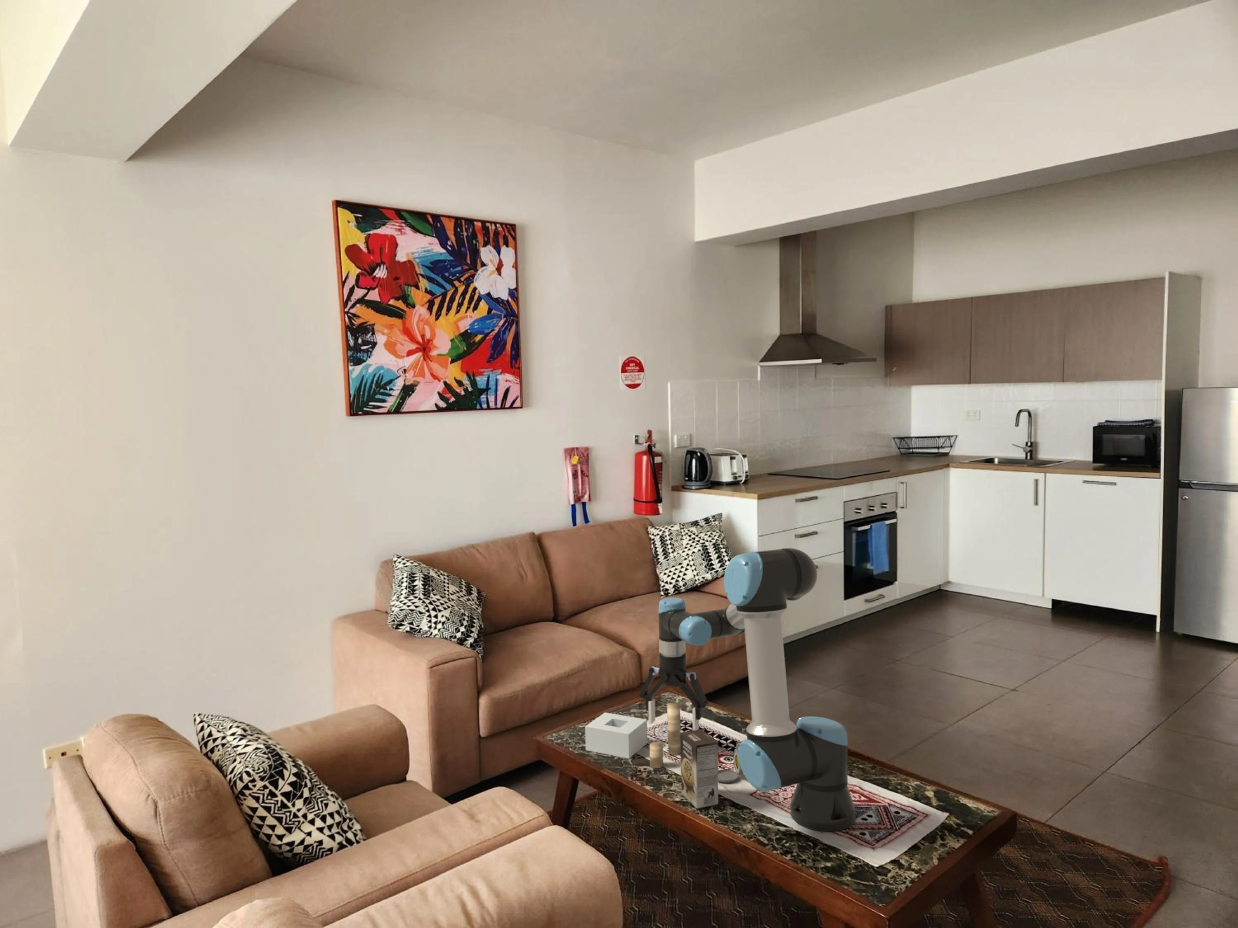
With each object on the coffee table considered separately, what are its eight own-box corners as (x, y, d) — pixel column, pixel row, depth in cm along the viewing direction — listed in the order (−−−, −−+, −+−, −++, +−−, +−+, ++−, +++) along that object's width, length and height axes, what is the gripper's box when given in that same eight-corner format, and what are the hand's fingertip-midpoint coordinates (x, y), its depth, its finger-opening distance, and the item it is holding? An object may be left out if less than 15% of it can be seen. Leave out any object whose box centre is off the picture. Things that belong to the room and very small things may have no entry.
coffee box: (680, 793, 215) (679, 731, 214) (702, 788, 218) (701, 727, 217) (696, 809, 207) (695, 745, 206) (719, 804, 209) (718, 740, 208)
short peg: (659, 769, 230) (659, 747, 229) (647, 766, 231) (647, 745, 231) (665, 764, 233) (664, 743, 232) (653, 761, 235) (653, 740, 234)
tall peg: (677, 755, 238) (676, 707, 237) (666, 753, 240) (665, 705, 239) (682, 751, 241) (681, 703, 240) (671, 748, 243) (670, 701, 242)
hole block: (629, 758, 237) (628, 734, 237) (585, 749, 244) (585, 726, 243) (647, 742, 248) (647, 719, 247) (605, 734, 254) (604, 712, 254)
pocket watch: (707, 778, 224) (707, 741, 223) (728, 768, 229) (728, 732, 228) (731, 788, 217) (731, 750, 217) (752, 778, 223) (752, 741, 222)
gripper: (718, 654, 236) (719, 728, 238) (638, 644, 247) (640, 714, 249) (709, 662, 229) (709, 738, 231) (627, 651, 241) (628, 723, 243)
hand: (673, 725), depth 240 cm, fingers open, 13 cm apart
